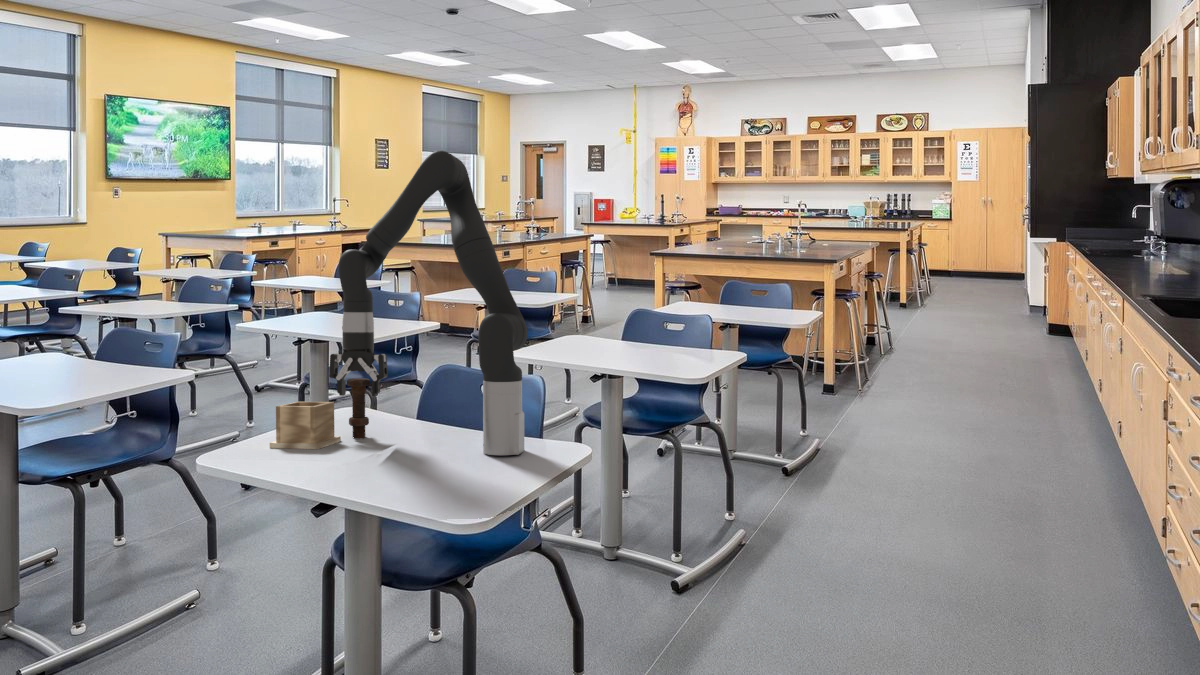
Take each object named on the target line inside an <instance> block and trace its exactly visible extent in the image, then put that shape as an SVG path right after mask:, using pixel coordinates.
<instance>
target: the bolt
mask: <svg viewBox="0 0 1200 675" xmlns="http://www.w3.org/2000/svg"><path fill="white" fill-rule="evenodd" d="M346 386H348V387H351V403H352V404H351V405H352V406H351V408H352V412H351V414H352V416H351V417H349V418H348V425H349V426H350V427H352V431H351V432H352V438H353V437H354V438H353V439H355V438H362V439H365V438H366V426H368V425H369V424H370V419H369V417H368V416H366V392H367V390H366V389H367V388H366V386H367V387H368V386H371V379H369V378H350V379H349V378H348V379H347V380H346Z"/></svg>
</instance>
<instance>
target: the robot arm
mask: <svg viewBox="0 0 1200 675" xmlns="http://www.w3.org/2000/svg"><path fill="white" fill-rule="evenodd" d="M436 192H438V193H439V194H440V196H441V198H442V199H443V202H444V204H445V206H446V209H447V211H448V215H449V218H450V231H451V237H450V238H451V244H452V248H453V251H454V254H455V256H456V259H457V262H458V264H459V267H460V269H461V271H462V274H464V276H465V277H466V279H467V280H468V281H469V283H470V284H471V286H472V287H474V289H475V290H476V292H477V293H478V294H479V295H480V297H481V298H482V300H483V302H484V303H485V306H486V307H487V308H486V309H487V311H488V313H489V314H488V315H486V316H484V318H482V320H481V322H480V324H479V327H478V332H477V333H478V337H477V338H478V339H477V341H478V357H479V358H478V359H479V360H478V361H479V362H478V364H479V368H480V371H481V373H482V386H483V387H482V425H483V426H482V432H483V433H482V436H483V438H482V439H483V440H482V441H483V442H482V448H483V452H482V453H483V455H484V454H485V455H489V456H513V455H517V456H518V455H520V454H522V453H523V452H525V411H523V371H522V369H521V368H520V367H519V366H518V365H517V364H516V362H515V357H514V356H515V355H514V351H517V350H520V349H522V348H523V347H524V346H525V344H526V342H527V340H528V339H527V338H528V328H527V324H526V321H525V318H524V316H523V314H522V313H521V311H520V308H519V306H518V305H517V302H516V301H515V298H514V297H513V294H512V293H511V291H510V288H509V287H510V286H508V283H507V280H506V279H507V278H506V277H505V274H504V271H503V269H502V266H501V264H500V262H499V258H498V255H497V252H496V249H495V247H494V245H493V241H492V239H491V236H490V234H489V232H488V230H487V226H486V225H485V221H484V219H483V217H482V215H481V213H480V211H479V208H478V205H477V203H476V199H475V196H474V191H473V189H472V184H471V180H470V176H469V173H468V170H467V166H465V164H464V163H463V161H462V160H461V159H460V158H458V157H456V156H455V155H453V154H452V153H449V152H448V151H445V150H434V151H433V152H431V153H429V154H428V155H427V156H426V157H425V158H424V160H423V161H422V162H421V163H420V165H419V167H418V168H417V169H416V171H415V173H414V174H413V176H412V177H411V179H410V181H409V182H408V183H407V185H406V186H405V187H404V189H403V190H402V192H401V193H400V194H399V196H398V197H397V199H396V200H395V201H394V202H393V204H392V205H391V206H390V207H389V209H388V210H387V211H385V213H384V214H383V215H382V216H381V217H380V219H378V220H377V222H376V223H375V224H374V225H373V226H372V227H371V228H370V229H369V230H368V231H367V233H366V236H365V239H366V241H365V242H364V244H363V245H362V246H361V247H360V248H359V249H356V248H355V249H347V250H345V251H344V252H343V253H342V254H341V256H340V257H339V261H338V267H337V268H338V276H339V280H340V286H341V287H340V288H341V289H342V294H343V300H342V301H343V302H342V303H343V305H342V306H343V315H342V326H341V329H342V354H341V353H340V354H339V353H331V354H330V356H329V371H328V372H329V374H328V375H329V378H331V379H333V380H336V383H337V384H336V391H337V394H338V395H339V396H341V397H343V396H346V394H347V393H346V392H347V391H346V390H347V389H346V386H347V380H345V379H346V377H347V376H348V375H349V374H350V373H351V372H366V374H367V375H368V376H369V377H370V379H371V380H372V381H371V397H377V396H378V395H379V394H380V393H381V381H382V380H383V379H385V378H388V376H389V374H388V360H387V358H388V357H387V354H385V353H381V354H376V353H375V351H374V349H375V322H374V321H375V320H374V314H373V312H374V311H373V310H374V309H373V308H374V307H373V306H374V305H373V300H374V299H373V292H372V290H370V289H369V288H368V284H367V279H368V278H370V277H372V276H373V275H374V274H376V272H377V271H378V270H379V269H380V267H381V265H382V264H383V263H384V261H385V259H386V258H387V256H388V255H389V253H390V252H391V250H393V249H394V248H395V247H396V246H397V245H398V244H399V242H401V240H402V239H403V238H404V237H405V236H406V235H407V233H408V232H409V231H410V228H412V225H413V224H414V222H415V219H416V217H417V216H418V213H419V212H420V210H421V208H422V207H423V205H424V203H426V201H428V199H430V197H431V196H433V195H434V194H436ZM341 360H342V362H343V363H344V365H343V366H342V367H341V369H340V370H339V363H340V362H341ZM374 362H376V363H377V364H378V370H377V368H376V367H375V365H374V364H373V363H374Z"/></svg>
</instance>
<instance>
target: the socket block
mask: <svg viewBox="0 0 1200 675" xmlns="http://www.w3.org/2000/svg"><path fill="white" fill-rule="evenodd" d="M340 440H342V438H341V436H336V435H335V402H334V401H294V402H291V403H285V404H281V405H275V440H274V441H271V442H269V449H298V450H299V449H300V450H301V449H302V450H320V449H322V448H325V447H326V448H327V447H328V446H332V445H334V444H337V443H339V442H341V441H340Z"/></svg>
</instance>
